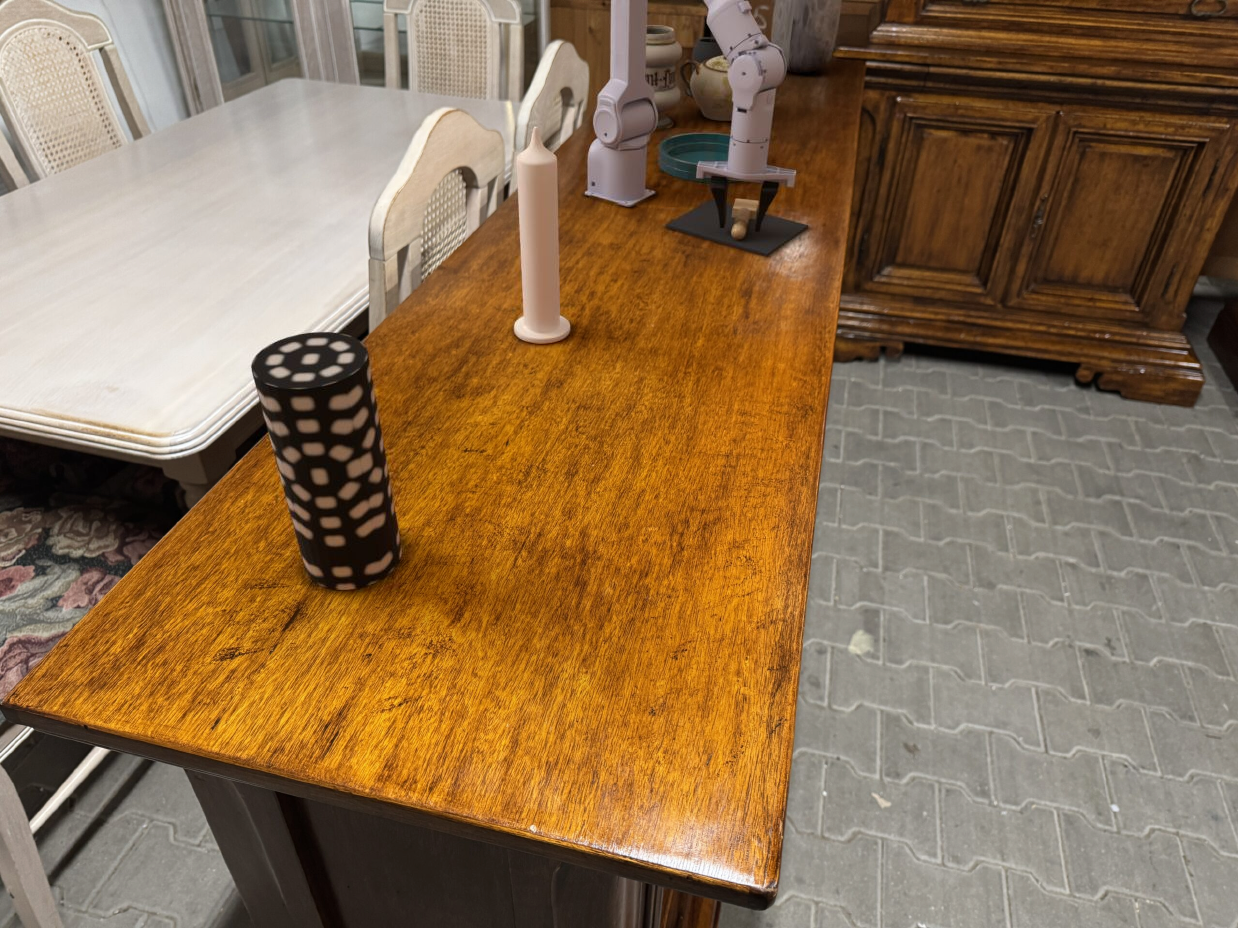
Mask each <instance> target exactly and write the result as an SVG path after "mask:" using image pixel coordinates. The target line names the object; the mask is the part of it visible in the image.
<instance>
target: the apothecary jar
mask: <svg viewBox="0 0 1238 928" xmlns="http://www.w3.org/2000/svg"><path fill="white" fill-rule="evenodd" d="M675 33H676V32H675V29H674V28H673V27H670V26H667V25H659V24H658V25H657V24H649V25H648V24H647V36H646V68H645V80H646V82H647V83H648V84H649V85H650V86H651V87H652V88H653V89H654V100H655V106H656V109H657V112H658V123H657V127H656V129H660V128H661V129H662V128H666V129H668V128H669V129H670V128H672V127H673V125H674V121H673V119H672V118H670V117H668V116H666V115H665V114H663V113H662V112H666V111H669V110H671V109H673V108H674V107H676V105H678V103H679V102H680V101H681V96H682V95H681V91H680V89H679V87H678V85H676V63H677V62H678V61H680V59H681V58H682V55H683V48H682V46H681V44H680V43H679V42H678V40H676V35H675Z"/></svg>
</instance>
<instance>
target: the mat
mask: <svg viewBox="0 0 1238 928" xmlns="http://www.w3.org/2000/svg"><path fill="white" fill-rule="evenodd" d="M733 206H734V204H731V203H727V210H726V223H725V226H724V228H720V224H719V215H718V210H717V206H716V202H715V199H709V200H707V201H706V202H703V203H702V204H700V205H698V206H696V207H694V208H693V209H691V210H689V211H688V212H686V213H683V214H682V215H680V216H679V217H676V218H675V219H672V220H671V221H670V222H668V223H666V224H665V228H667V229H670V230H673V231H677V232H680V233H684V234H687V235H691V236H694V237H698V238H701V239H705V240H708V241H711V242H715V243H718V244H721V245H726V246H729V247H732V248H736V249H740V250H743V251H747V252H750V253H753V254H756V255H759V256H763V257H766V258H768V257H769V256H771V255H772V254H773V253H774V252H776V251H777V250H779V249H780V248H782V247H783V246H785V245H787V243H789V242H790V241H792V240H793V239H795V238H796V237H797V236H799V235H800V234H802V233H803V232H805V231H806V230H807V229H808V228H809V224H805V223H802V222H797V221H794V220H790V219H786V218H783V217H778V216H775V215H771V214H768V213H765V216H764V218H763V221H762V223H761V228H760V232H755V226H756V221H757V216H758V211H757V215H756V219H755V220H752V219H749V223H748V227H747V230H746V234H745V236H744V238H743V239H741V240H736V239H734V238H733V237H732V235H731V230H732V227H733V224H734V221H735V218H733V217H732V210H733Z"/></svg>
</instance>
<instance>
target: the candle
mask: <svg viewBox="0 0 1238 928" xmlns="http://www.w3.org/2000/svg"><path fill="white" fill-rule="evenodd" d="M516 175H517V176H516V179H517V202H518V222H519V225H518V226H519V240H520V241H519V245H520V262H521V263H520V265H521V287H522V289H521V290H522V309H523V315H522V316H521V317H519V318H518V319H517V320H516V321H515V322H514V324H513V333H514V335H515V336H516V337H517V338H518V339H519V340H522V341H524V342H527V343H531V344H537V345H538V344H539V345H542V344H544V345H545V344H553V343H557V342H559V341H562V340H564V339H565V338H567V337H568V336H569V334H570V332H571V323H570V321H569V319H567V318H566V317H564V316H562V315H561V305H560V304H561V303H560V301H561V300H560V297H561V296H560V248H559V244H560V243H559V241H560V240H559V200H558V199H559V197H558V194H559V193H558V189H559V188H558V158H557V156H556V155H555V154H554V153H553V152H552V151H550V150H549V149H548V148H547V147H545V145H544V143H543V141H542V138H541V133H540V130H539V127H538V126H534V127H533V128H532V132H531V139H530V143H529V144H528V146H527V147H526V148H525V149H524V150H523V151H521V152H520V153H519V154H518V155H516Z"/></svg>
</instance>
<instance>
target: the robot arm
mask: <svg viewBox="0 0 1238 928" xmlns="http://www.w3.org/2000/svg"><path fill="white" fill-rule="evenodd" d="M702 1H703V3H704V4H705V5H706V7H707V9H708V11H707V17H706V24H707V26H708V28H709V30H710V32H711V34H712V35H713V38H715V39H716V41H717V43H718V45H719V46H720V48H721V50H722V52H723V54H724V55H725V57H726V59H727V61H728V63H729V64H730V66H731V68H730V69H728V80H729V84H730V86H731V88H732V92H733V96H732V101H733V102H734V103H733V115H732V121H731V125H730V126H731V127H730V135H731V136H730V145H729V155H728V162H702V161H699V163H698V165H697V175H696V178H701V179H703V178H704V177H707V178H711V183H709V189H710V192H711V194H712V196H713V200H715V202H716V206H717V210H718V215H719V224H720V228H724V226H725V223H726V210H727V204H728V195H729V194H728V193H729V186H730V183H729V180H738V181H739V182H750V183H759V184H760V183H761V187H760V193H759V204H758V211H757V212H758V216H757V221H756V226H755V232H760V228H761V223H762V221H763V218H764V216H765V214H767V211H768V210H769V207H770V206H771V204H772V202H773V201H774V199H775V197H777V194H778V192H779V187H780V185H781V186H786V188H794V187H795V183H796V175H797V170H795V169H790V168H789V169H788V168H783V167H778V166H774V165H769V164H768V158H769V157H768V156H769V149H770V142H771V140H770V139H771V133H772V126H773V117H774V108H775V103H776V102H775V100H776V95H777V94H776V93H777V87H778V86H780V85H781V84H782V82H783V81H784V79H785V77H786V75H787V64H786V59H785V56H784V54H783V50H782V49H781V48H780V47H779V46H777V45H775V44H772V43H771V41H769V39H768V38H767V36H766V35H765V34H764V33H763V32H762V30H761V28H760V26H759V25H758V23H757V21H756V19H755V18H754V16H753V14H752V12H751V10H752V9H753V8H752V5H751V3H750V2H749V0H702ZM647 25H648V0H610V63H609V65H610V66H609V69H610V71H609V72H610V76H609V77H610V78H609V80H608V82H606V85H604V87H603V88H602V89H601V91H600V92H599V93H598V95H597V104H596V109H595V111H594V114H593V119H592V125H593V130H594V134H595V136H596V138H595V139H594V140H593V141H592V142H591V144H590V147H589V149H588V153H587V190H585V191H584V195H586V196H588V197H591V196H593V197H596V198H599V199H603V200H606V201H610V202H612V203H613V204H614V203H615V204H616V205H620V206H623V207H627V208H631V207H633V206H635V205H636V204H637V203H638V202H641V201H643V200H645V199H646V198H648V197H651V196H653V195H654V194H656V191H655V190H651V189H647V188H646V181H647V180H646V179H647V156H648V155H647V154H648V153H647V152H648V143H649V142H650V141H651V134H652V133H654V132H655V131H656V129H657V128H656V127H657V123H658V112H657V109H656V106H655V100H654V89H653V88H652V87H651V86H650V85H649V84H648V83H647V82H646V80H645V68H646V36H647Z"/></svg>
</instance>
